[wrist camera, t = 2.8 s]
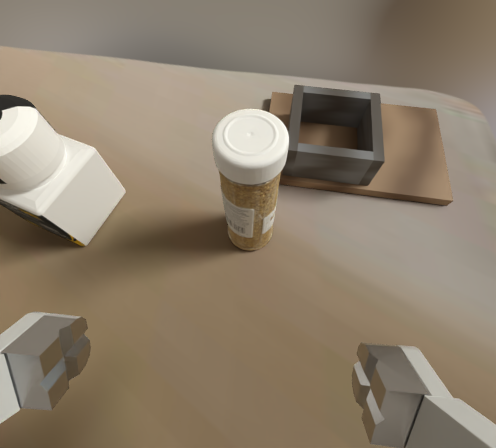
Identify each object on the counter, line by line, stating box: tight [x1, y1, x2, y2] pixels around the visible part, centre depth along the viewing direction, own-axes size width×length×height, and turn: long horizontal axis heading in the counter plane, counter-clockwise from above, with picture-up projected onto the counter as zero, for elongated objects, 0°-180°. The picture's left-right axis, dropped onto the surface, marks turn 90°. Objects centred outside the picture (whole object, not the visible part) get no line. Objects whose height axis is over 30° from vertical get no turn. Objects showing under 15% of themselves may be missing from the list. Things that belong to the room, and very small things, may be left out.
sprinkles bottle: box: [212, 109, 289, 251], centre depth 22 cm, size 5×5×14 cm
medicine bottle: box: [0, 95, 126, 246], centre depth 24 cm, size 7×7×12 cm
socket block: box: [269, 85, 453, 206], centre depth 31 cm, size 20×13×5 cm, turn 81°
